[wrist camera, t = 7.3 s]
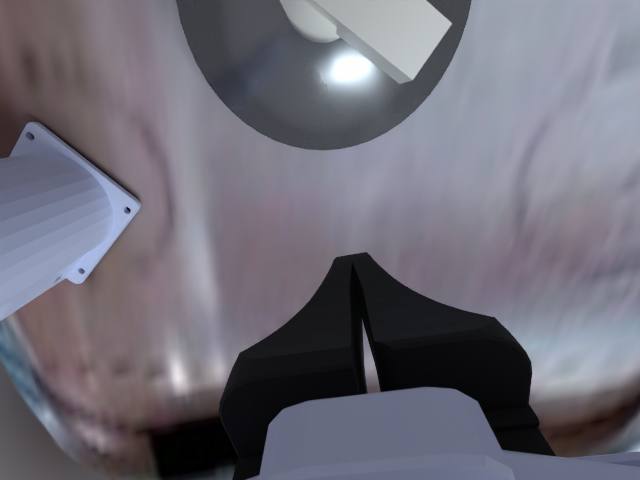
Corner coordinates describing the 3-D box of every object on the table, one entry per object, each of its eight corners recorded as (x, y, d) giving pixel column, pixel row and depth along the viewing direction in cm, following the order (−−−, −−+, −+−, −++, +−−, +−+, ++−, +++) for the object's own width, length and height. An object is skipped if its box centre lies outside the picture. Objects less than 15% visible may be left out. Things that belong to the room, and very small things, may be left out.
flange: (323, 193, 21) (322, 200, 19) (133, 8, 17) (113, -2, 15) (518, 2, 16) (538, -8, 15) (322, -316, 12) (321, -377, 11)
